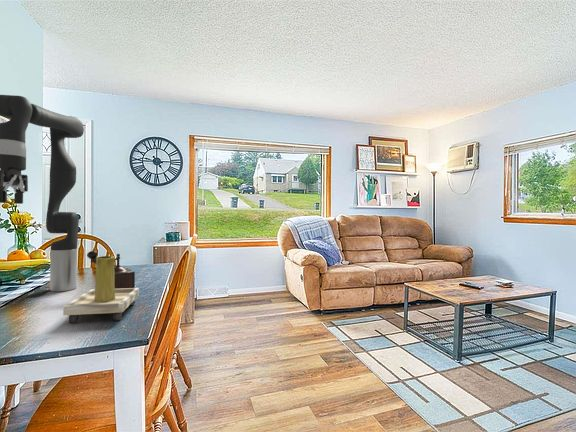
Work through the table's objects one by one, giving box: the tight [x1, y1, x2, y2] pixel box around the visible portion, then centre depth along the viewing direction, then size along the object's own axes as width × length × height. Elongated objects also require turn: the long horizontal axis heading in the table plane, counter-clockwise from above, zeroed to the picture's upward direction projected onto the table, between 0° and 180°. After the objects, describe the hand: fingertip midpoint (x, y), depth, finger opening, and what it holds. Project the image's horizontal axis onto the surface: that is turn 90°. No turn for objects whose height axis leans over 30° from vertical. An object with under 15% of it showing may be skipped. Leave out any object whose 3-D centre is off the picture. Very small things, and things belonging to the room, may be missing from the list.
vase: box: [94, 255, 116, 302], centre depth 101 cm, size 6×6×14 cm
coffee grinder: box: [86, 250, 136, 289], centre depth 124 cm, size 16×11×18 cm
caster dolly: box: [62, 287, 140, 324], centre depth 101 cm, size 20×16×6 cm
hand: (10, 203), depth 102 cm, fingers open, 8 cm apart
